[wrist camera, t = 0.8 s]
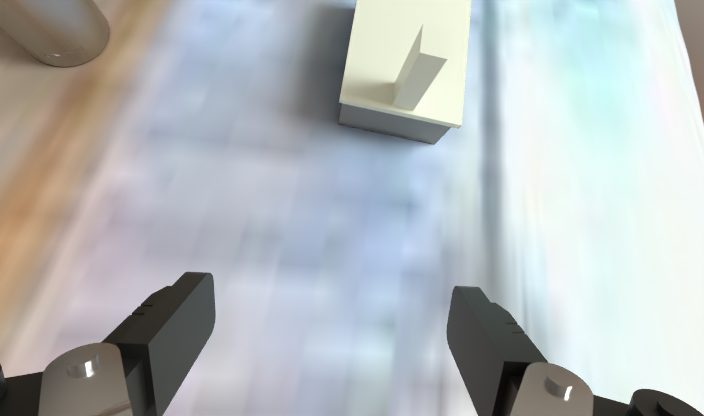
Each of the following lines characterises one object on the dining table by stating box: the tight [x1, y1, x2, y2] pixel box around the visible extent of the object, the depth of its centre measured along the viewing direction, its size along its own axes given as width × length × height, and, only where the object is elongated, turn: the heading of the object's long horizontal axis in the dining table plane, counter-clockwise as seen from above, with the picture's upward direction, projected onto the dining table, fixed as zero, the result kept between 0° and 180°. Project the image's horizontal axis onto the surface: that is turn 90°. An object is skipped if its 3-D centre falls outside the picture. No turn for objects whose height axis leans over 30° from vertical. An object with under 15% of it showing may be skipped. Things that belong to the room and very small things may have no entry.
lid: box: [339, 0, 471, 129], centre depth 36 cm, size 19×14×11 cm
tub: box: [338, 103, 451, 144], centre depth 44 cm, size 18×13×6 cm
